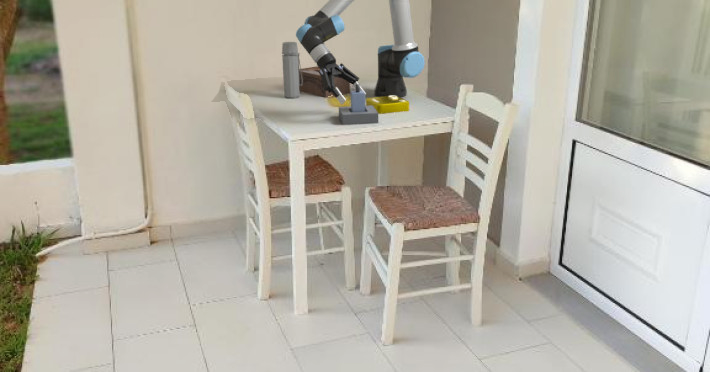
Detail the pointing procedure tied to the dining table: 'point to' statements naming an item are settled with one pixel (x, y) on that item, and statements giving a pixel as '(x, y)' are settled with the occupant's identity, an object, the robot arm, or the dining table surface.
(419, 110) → the dining table surface
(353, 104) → the plug
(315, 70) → the tissue box cover
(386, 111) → the element tile
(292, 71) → the water bottle
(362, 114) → the socket
